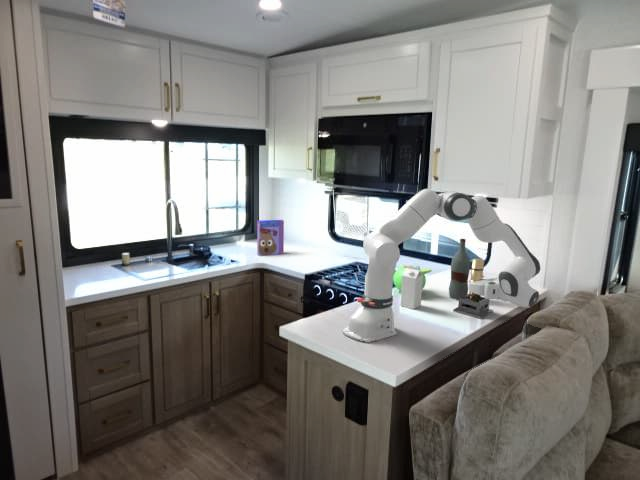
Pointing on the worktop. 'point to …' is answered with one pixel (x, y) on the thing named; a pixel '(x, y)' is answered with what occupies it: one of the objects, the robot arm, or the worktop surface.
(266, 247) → the cereal box
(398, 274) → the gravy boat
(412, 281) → the milk carton
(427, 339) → the worktop surface
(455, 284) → the bottle
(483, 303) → the collar stand
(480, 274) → the brass tube
